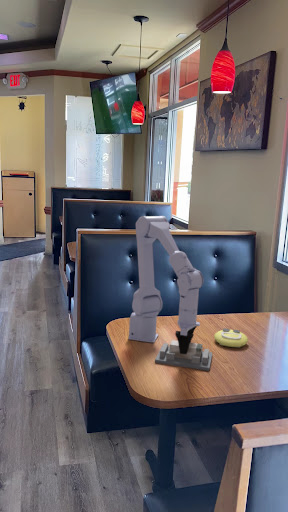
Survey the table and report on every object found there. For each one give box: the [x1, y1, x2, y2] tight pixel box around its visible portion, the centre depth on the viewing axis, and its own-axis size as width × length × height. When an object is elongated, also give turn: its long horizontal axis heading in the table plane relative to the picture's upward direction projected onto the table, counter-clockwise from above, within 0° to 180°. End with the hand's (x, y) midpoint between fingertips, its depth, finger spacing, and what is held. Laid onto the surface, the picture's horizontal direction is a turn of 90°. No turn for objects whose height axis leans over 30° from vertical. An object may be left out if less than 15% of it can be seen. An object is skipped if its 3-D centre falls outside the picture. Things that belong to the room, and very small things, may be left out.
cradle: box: [154, 342, 213, 372], centre depth 136 cm, size 17×12×3 cm
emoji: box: [213, 328, 249, 348], centre depth 152 cm, size 4×12×12 cm
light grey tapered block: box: [169, 339, 203, 360], centre depth 136 cm, size 10×4×4 cm, turn 76°
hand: (185, 348), depth 136 cm, fingers open, 7 cm apart
